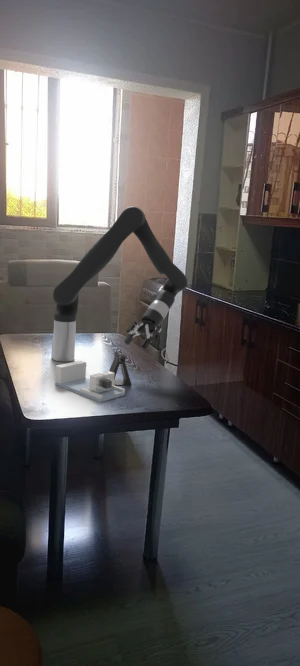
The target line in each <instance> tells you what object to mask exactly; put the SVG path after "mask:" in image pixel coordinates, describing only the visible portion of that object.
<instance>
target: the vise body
mask: <svg viewBox="0 0 300 666" xmlns="http://www.w3.org/2000/svg"><path fill="white" fill-rule="evenodd" d="M86 374H87V362H86V361H83V360H77V361H71V362H67V363H62V364H58V365H55V374H54V375H55V378H54V381H55V384H54V385H55V386H58V387H60V388H62V387H63V389H65V388H66V389H65V390H67V389H68V391H70V390H71V392H73V391H74V392H73V393H75V392H77V393H76V394H78V393H79V394H78V395H80V394H81V395H80V396H83V397H85V398H88V399H91V400H93V401H96V402H99V403H102V402H106V401H108V400H112V399H116V398H119V397H122V396H125V394H126V389H125V388H123V387H121V386H115V385H114V389H113V390H109V391H105V392H102V393H98V394H97V393H95V392H92V391H90V390H89V385H90V378H88V377H87V378H86V376H87V375H86Z"/></svg>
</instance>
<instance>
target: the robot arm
mask: <svg viewBox="0 0 300 666" xmlns="http://www.w3.org/2000/svg"><path fill="white" fill-rule="evenodd" d="M148 222H149V221H148V220H147V218H146V215H145V212H144V211H143V209H141V208H139V207H137V206H132V205H131V206H128V207H125V209H123V211H122V212H121V213H120V215H119V216H118V217H117V219H116V221H114V223H113V224H112V226H111V227H110V228H109V229H108V231H106V232H105V234H103V235H102V236H101V237H100V238H99V239H98V240H97V241H96V242H95V243H94V244H93V245H92V246H91V248H90V249H89V250H88V251H87V252H86V253H85V254H84V256H83V257H82V258H81V260H79V262H78V263H77V265H76V266H75V267H74V269H73V270H72V271H71V272H70V273H69V275H67V276H66V277H65V279H63V280H62V281H61V282H59V283H58V285H56V286H55V287H54V289H53V292H52V297H53V300H54V302H55V303H56V308H55V311H54V315H53V336H52V337H51V359H52V360H53V361H56V362H62V363H64V362H65V363H66V362H67V363H70V362H74V361H75V351H76V332H77V331H76V329H77V328H76V327H77V326H76V325H77V315H78V308H79V292H80V291H81V290H82V288H83V287H84V286H85V285H86V284H87V283H88V282H89V281H90V280H92V279H93V278H94V277H96V276H97V275H98V274H99V273H100V272H101V271H103V269H105V268H106V266H107V265H108V264H109V263H110V262H111V261H112V259H113V258H114V256H115V255H116V253H117V252H118V250H119V249H120V247H121V246H122V244H123V242H124V241H125V240H126V239H128V237H129V236H130V235H131V234H134V235H135V236H136V237H137V239H138V240H139V242H140V243H141V245H142V247H143V248H144V250H145V252H146V254H147V256H148V258H149V261H150V262H151V263H152V265H153V267H154V268H155V269H156V271H157V273H158V274H159V275H165V277H167V280H166V281H165V282H164V283H163V285H162V287H161V288H160V291H159V293H158V294H157V296H156V297H155V299H154V300H153V301H152V302H151V304H150V305H149V307H148V308H147V309H146V311H145V312H144V314H143V315H142V316H141V317H142V318H141V320H140V322H137V320H133V321H132V323H131V324H130V325H129V327H127V329H126V330H125V331H126V333H127V336H126V338H125V339H124V344H125V345H127V346H129V345H130V343H131V342H132V340H133V339H134V338H135V337H136V336H140V335H142V336H146V338H145V339H144V341H143V342H142V343H141V345H140V347H141V349H142V350H146V349H147V348H148V347H149V345H150V344H151V343H152V342H154V343H156V342H157V341H158V339H159V337H160V336H161V334H162V333H163V329H162V328H161V324H162V323H163V321H164V319H165V318H166V316H167V315H168V313H169V310H170V309H171V308H172V306H173V304H174V303H175V299H176V298H175V297H177V295H178V294H179V293H180V292H182V291H183V290H185V289H186V288H187V286H188V278H187V276H186V274H185V273H184V272H183V271H182V269H180V268H179V267H178V266H177V265H176V264H175V263H173V261H172V260H171V258H170V256H169V255H168V253H167V251H166V250H165V249H164V247H163V246H162V245H161V243H160V242H159V240H158V238H157V237H156V235H155V234H154V232H153V231H152V229H151V226H150V225H149V223H148Z"/></svg>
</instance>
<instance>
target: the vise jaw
mask: <svg viewBox="0 0 300 666" xmlns="http://www.w3.org/2000/svg"><path fill="white" fill-rule="evenodd" d="M114 377H115V373H113V372H110V371H109V370H107V371H101V372H98V373H94V374H90V375H89V379H90V385H89V390H90V391H92V392H95V393H97V394H98V393H102V392H105V391H109V390H113V389H114ZM115 378H116V377H115Z"/></svg>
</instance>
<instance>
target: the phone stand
mask: <svg viewBox="0 0 300 666" xmlns="http://www.w3.org/2000/svg"><path fill="white" fill-rule="evenodd" d="M113 354H114V358H113V361H112V362H111V365H110V368H109V370H108V371H110V372H113V373H115V377H114V385H115V386H118V387H123V386H124V387H128V386H129V387H130V386H132V380H131V378H130V374H129V372H128V368H127V365H126V356H125V355H124V353H123V352H122V351H121V350H119V351H118V350H116V351H114V353H113ZM119 367H120V369H121V373H122V378H123V379H116V377H117V372H118V371H119Z"/></svg>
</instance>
